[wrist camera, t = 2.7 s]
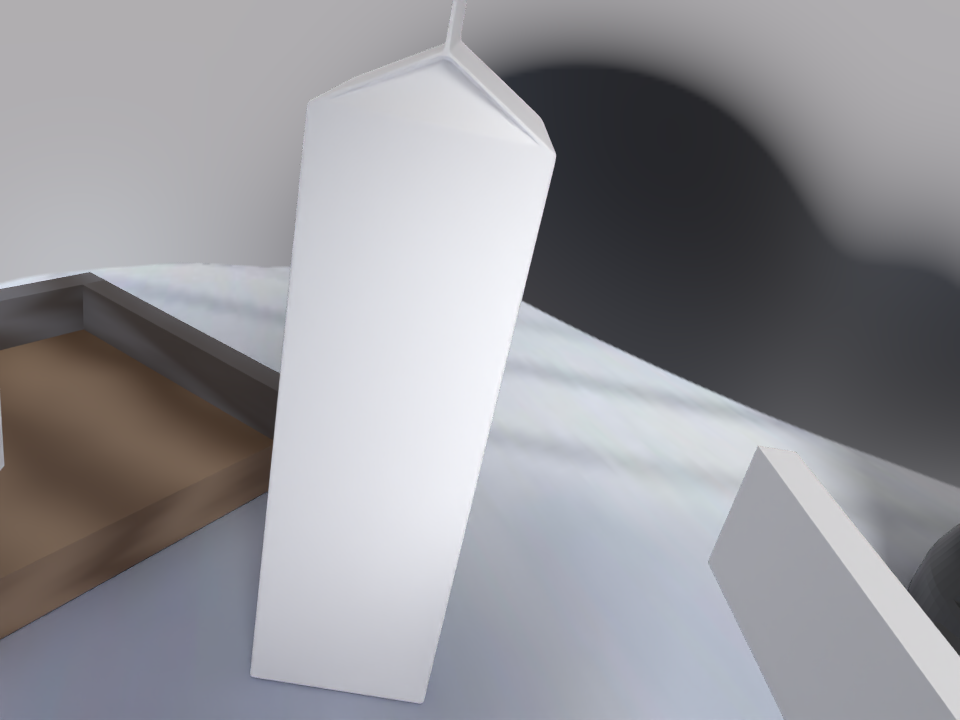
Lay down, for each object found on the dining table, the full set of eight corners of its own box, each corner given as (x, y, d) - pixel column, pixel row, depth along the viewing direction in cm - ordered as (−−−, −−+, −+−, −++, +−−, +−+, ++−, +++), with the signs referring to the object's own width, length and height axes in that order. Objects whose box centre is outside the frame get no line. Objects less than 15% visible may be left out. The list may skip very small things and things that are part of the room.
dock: (91, 357, 41) (90, 272, 39) (291, 478, 35) (301, 385, 33) (-305, 470, 28) (-340, 353, 26) (-96, 692, 22) (-119, 562, 20)
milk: (248, 680, 25) (312, -56, 16) (292, 559, 31) (359, -41, 21) (427, 707, 26) (593, 5, 16) (439, 583, 31) (568, 4, 22)
